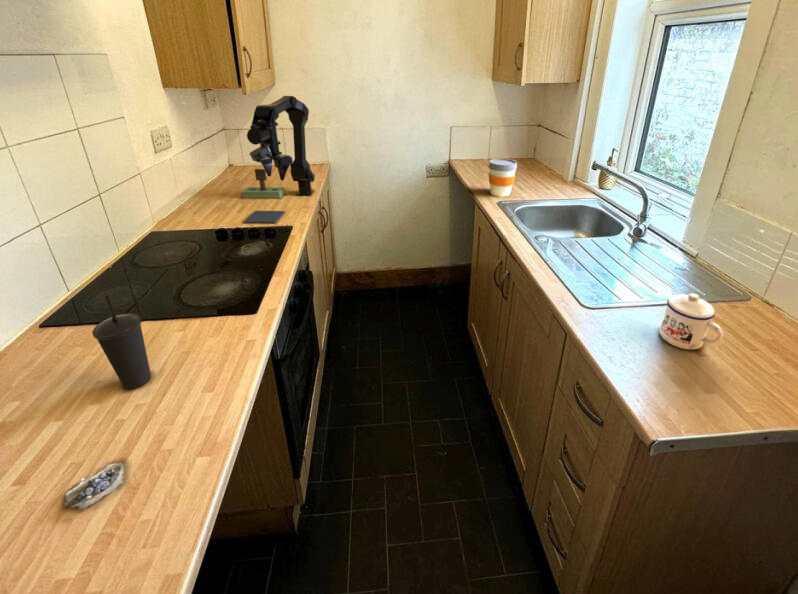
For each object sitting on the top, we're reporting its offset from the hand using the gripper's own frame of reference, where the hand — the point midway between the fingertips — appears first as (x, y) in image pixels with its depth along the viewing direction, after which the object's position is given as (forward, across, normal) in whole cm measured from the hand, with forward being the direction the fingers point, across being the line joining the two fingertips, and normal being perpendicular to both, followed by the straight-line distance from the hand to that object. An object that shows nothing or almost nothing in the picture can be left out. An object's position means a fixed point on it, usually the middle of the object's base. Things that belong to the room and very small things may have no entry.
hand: (275, 178), depth 168 cm
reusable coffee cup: (+14, +59, +79) cm, 100 cm away
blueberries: (+13, +84, -87) cm, 122 cm away
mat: (+14, +3, -9) cm, 17 cm away
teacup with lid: (+14, +146, +11) cm, 147 cm away
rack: (+14, -22, +6) cm, 27 cm away
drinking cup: (+13, +64, -75) cm, 100 cm away
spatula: (+14, -22, +6) cm, 27 cm away
